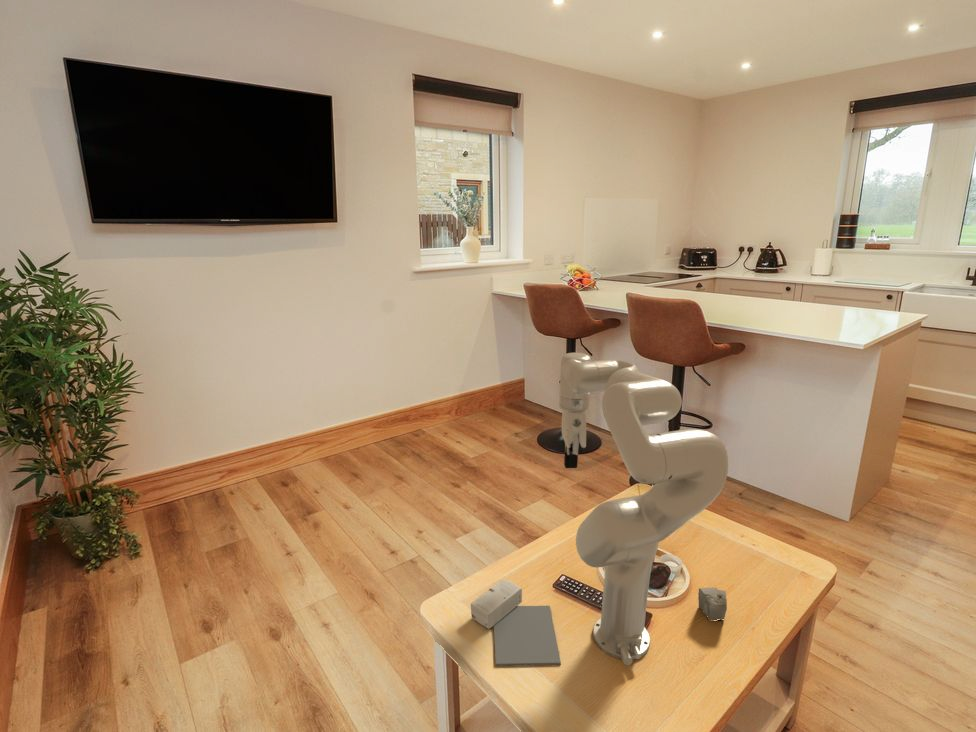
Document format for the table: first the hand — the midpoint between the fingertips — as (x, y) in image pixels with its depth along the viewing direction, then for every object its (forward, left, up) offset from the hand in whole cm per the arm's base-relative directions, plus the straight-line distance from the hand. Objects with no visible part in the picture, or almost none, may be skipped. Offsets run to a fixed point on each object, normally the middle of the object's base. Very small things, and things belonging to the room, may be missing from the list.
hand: (570, 466), depth 138 cm
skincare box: (-15, +16, -26) cm, 34 cm away
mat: (-27, +14, -29) cm, 42 cm away
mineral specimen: (-22, -32, -29) cm, 49 cm away
